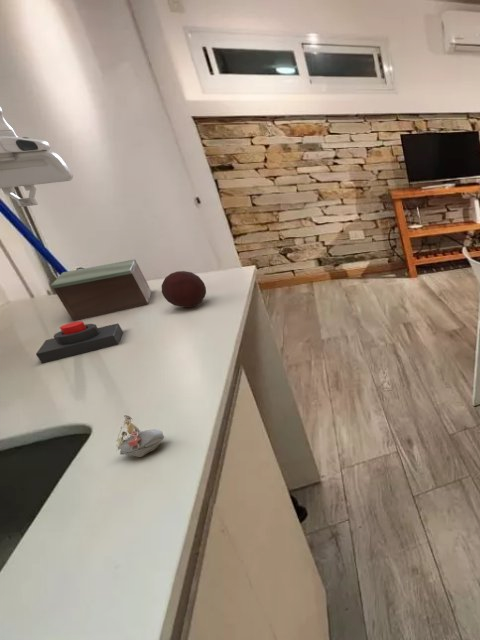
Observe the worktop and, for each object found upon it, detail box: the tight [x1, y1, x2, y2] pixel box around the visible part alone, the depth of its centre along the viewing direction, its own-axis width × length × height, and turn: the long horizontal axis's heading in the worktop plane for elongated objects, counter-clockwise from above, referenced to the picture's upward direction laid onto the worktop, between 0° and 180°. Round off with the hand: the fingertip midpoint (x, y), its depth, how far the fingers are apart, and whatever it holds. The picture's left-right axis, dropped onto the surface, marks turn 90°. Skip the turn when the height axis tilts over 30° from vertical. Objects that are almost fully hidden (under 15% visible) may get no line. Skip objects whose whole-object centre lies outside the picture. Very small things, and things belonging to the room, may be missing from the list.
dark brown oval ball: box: [161, 270, 207, 308], centre depth 121 cm, size 9×12×9 cm
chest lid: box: [50, 259, 137, 290], centre depth 124 cm, size 15×15×1 cm
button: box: [59, 320, 87, 335], centre depth 102 cm, size 4×4×2 cm
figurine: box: [115, 414, 165, 458], centre depth 67 cm, size 5×4×6 cm
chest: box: [53, 261, 153, 322], centre depth 126 cm, size 14×15×9 cm
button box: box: [35, 322, 124, 364], centre depth 103 cm, size 12×9×4 cm
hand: (29, 205), depth 117 cm, fingers closed
